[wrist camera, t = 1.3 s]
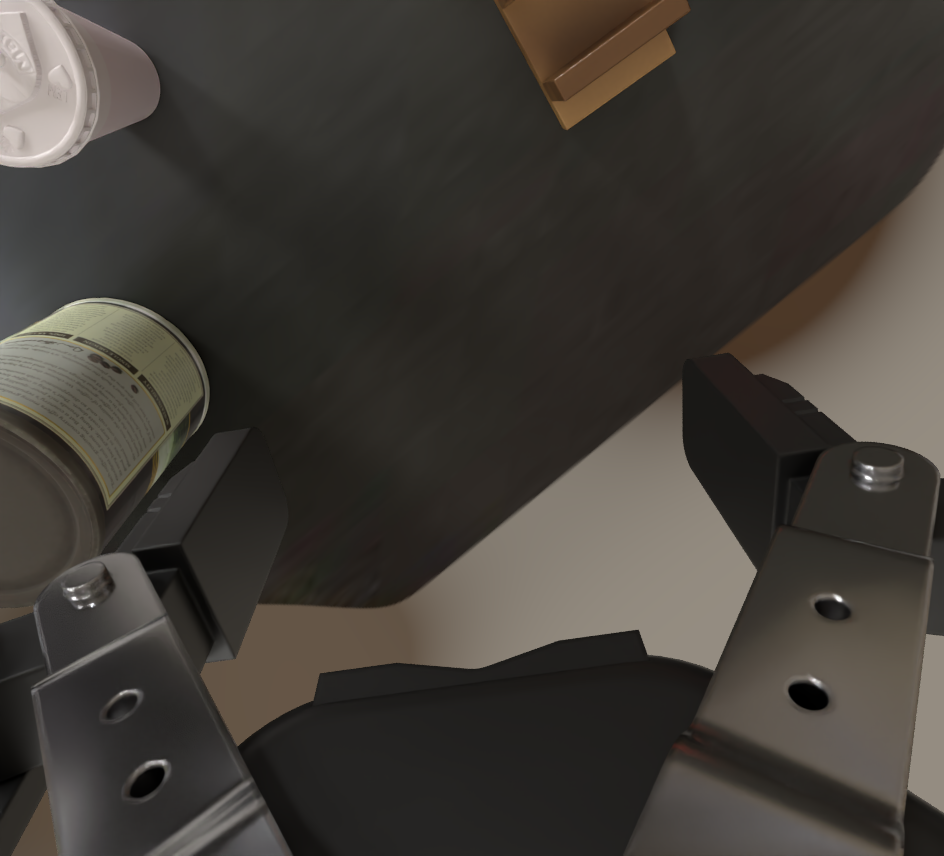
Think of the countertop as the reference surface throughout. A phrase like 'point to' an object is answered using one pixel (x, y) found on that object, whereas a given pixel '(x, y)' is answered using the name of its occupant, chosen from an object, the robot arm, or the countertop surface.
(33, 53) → the smoothie
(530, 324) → the countertop surface
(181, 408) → the coffee can
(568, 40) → the dish rack
